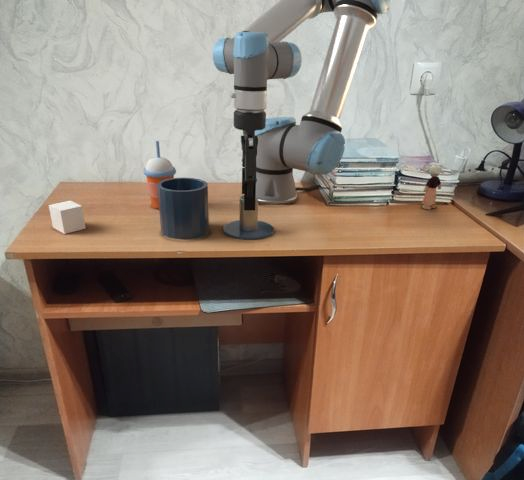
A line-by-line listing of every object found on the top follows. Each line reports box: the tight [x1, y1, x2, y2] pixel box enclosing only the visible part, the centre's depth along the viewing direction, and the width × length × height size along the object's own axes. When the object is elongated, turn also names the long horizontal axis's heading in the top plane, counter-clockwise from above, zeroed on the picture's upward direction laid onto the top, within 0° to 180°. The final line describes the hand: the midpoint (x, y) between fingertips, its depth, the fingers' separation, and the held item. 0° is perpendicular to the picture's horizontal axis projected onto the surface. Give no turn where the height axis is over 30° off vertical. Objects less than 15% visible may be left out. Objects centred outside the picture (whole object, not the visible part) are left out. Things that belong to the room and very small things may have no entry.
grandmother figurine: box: [421, 163, 442, 210], centre depth 154 cm, size 8×4×13 cm, turn 139°
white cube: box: [48, 200, 87, 235], centre depth 134 cm, size 6×6×6 cm
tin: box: [157, 177, 210, 241], centre depth 132 cm, size 12×12×12 cm
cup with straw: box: [142, 140, 177, 210], centre depth 148 cm, size 9×9×18 cm
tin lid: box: [222, 194, 275, 241], centre depth 134 cm, size 13×13×9 cm
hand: (248, 201), depth 131 cm, fingers open, 13 cm apart
